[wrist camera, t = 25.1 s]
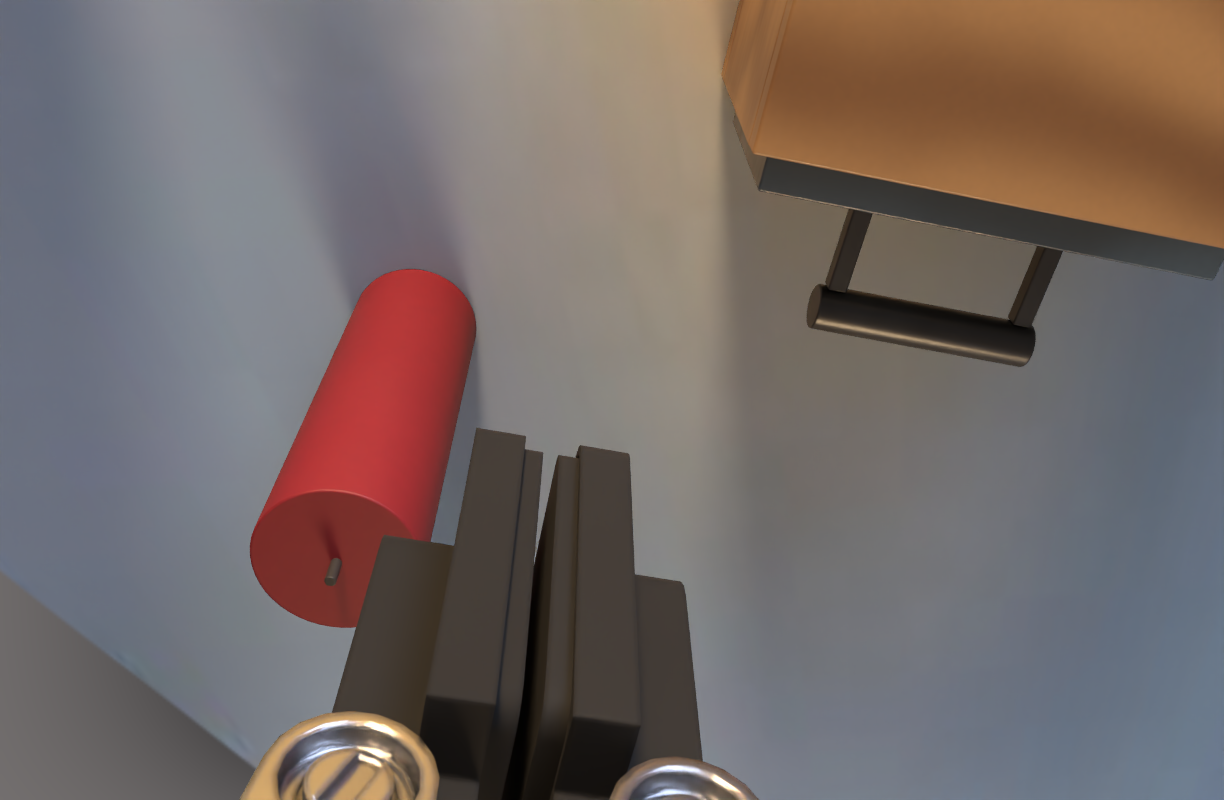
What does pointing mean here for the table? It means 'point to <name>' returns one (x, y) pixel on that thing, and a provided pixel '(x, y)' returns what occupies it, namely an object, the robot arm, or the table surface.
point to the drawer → (1047, 231)
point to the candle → (368, 448)
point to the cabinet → (998, 101)
